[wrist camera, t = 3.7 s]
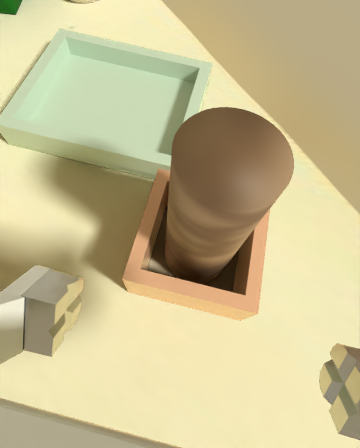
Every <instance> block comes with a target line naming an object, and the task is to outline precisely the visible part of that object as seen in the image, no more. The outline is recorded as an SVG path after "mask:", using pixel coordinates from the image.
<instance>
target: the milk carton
mask: <svg viewBox="0 0 360 448" xmlns="http://www.w3.org/2000/svg"><path fill="white" fill-rule="evenodd" d="M21 2H22V0H0V13H6V14H16V13H17V11H18V9H19V6H20V4H21Z"/></svg>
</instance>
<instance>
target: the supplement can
mask: <svg viewBox="0 0 360 448" xmlns="http://www.w3.org/2000/svg"><path fill="white" fill-rule="evenodd" d="M70 1H73V2H77V3H92V2H95V1H99V0H70Z"/></svg>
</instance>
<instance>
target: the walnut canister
mask: <svg viewBox="0 0 360 448" xmlns="http://www.w3.org/2000/svg"><path fill="white" fill-rule="evenodd" d="M293 169H294V159H293V153H292V150H291V147H290V145H289V143H288V141H287V140H286V138H285V137H284V135H283V134H282V133H281V132H280V130H278V129H277V128H276V127H275V126H274V125H273V124H272V123H270V122H269V121H268V120H266V119H264V118H263V117H261V116H259V115H257V114H255V113H252V112H249V111H246V110H243V109H237V108H229V107H219V108H212V109H207V110H204V111H201V112H199V113H197V114H195V115H193V116H191V117H190V118H188V119H187V120H186V121H185V122H184V123H183V124H182V125H181V126H180V127H179V129H178V130H177V132H176V134H175V136H174V139H173V143H172V152H171V167H170V181H169V196H168V211H167V225H166V240H165V260H166V263H167V265H168V267H169V269H170V270H171V272H172V273H173V274H174V275H175V276H176V277H178V278H179V279H182V280H186V281H190V282H194V283H198V284H202V283H206V282H209V281H211V280H213V279H214V278H216V277H217V276H218V275H219V274H220V273H221V272H222V270H223V269H224V268H225V266H226V265H227V264H228V262H229V261H230V260H231V259H232V257H233V256H234V255H235V253H236V252H237V251H238V249H239V248H240V247H241V245H242V244H243V243H244V242H245V240H246V239H247V238H248V236H249V235H250V234H251V232H252V231H253V230H254V229H255V227H256V226H257V225H258V223H259V222H260V221H261V219H262V218H263V217H264V216H265V214H266V213H267V212H268V210H269V209H270V208H271V206H272V205H273V204H274V203H275V201H276V200H277V199H278V197H279V196H280V195H281V193H282V192H283V191H284V189H285V188H286V187H287V186H288V184H289V182H290V180H291V177H292V175H293Z"/></svg>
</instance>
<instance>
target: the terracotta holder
mask: <svg viewBox="0 0 360 448" xmlns="http://www.w3.org/2000/svg"><path fill="white" fill-rule="evenodd" d="M169 181H170V171H167V170H163V169H159V168H158V171H157V174H156V177H155V180H154V183H153V186H152V189H151V192H150V195H149V198H148V202H147V205H146V208H145V211H144V214H143V217H142V220H141V223H140V226H139V229H138V232H137V235H136V238H135V241H134V244H133V247H132V250H131V253H130V256H129V259H128V262H127V266H126V269H125V272H124V275H123V278H122V280H123V282H124V284H125V287H126V289H127V291H128V292H130V293H134V294H138V295H142V296H146V297H150V298H154V299H158V300H162V301H166V302H169V303H173V304H177V305H181V306H185V307H189V308H193V309H197V310H201V311H205V312H209V313H213V314H216V315H220V316H224V317H228V318H232V319H236V320H240V321H241V320H243V319H246V318H248V317H251V316H253V315H256V314H258V309H259V300H260V292H261V283H262V274H263V265H264V256H265V247H266V239H267V230H268V221H269V212H270V209H269V210H268V212H267V213H266V214H265V216H264V217H263V218H262V219H261V221H260V222H259V223H258V225H257V226H256V227H255V229H254V230H253V231H252V232H251V234H250V235H249V236H248V238H247V239H246V240H245V242H244V243H243V244H242V245H241V247H240V248H239V253H238V260H237V266H236V273H235V279H234V286H233V292H229V291H225V290H221V289H217V288H213V287H210V286H206V285H202V284H198V283H194V282H190V281H186V280H182V279H178V278H174V277H170V276H166V275H162V274H158V273H154V272H150V271H147V268H148V265H149V261H150V258H151V254H152V251H153V248H154V244H155V241H156V237H157V234H158V231H159V227H160V224H161V220H162V217H163V214H164V210H165V207H168V196H169Z"/></svg>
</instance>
